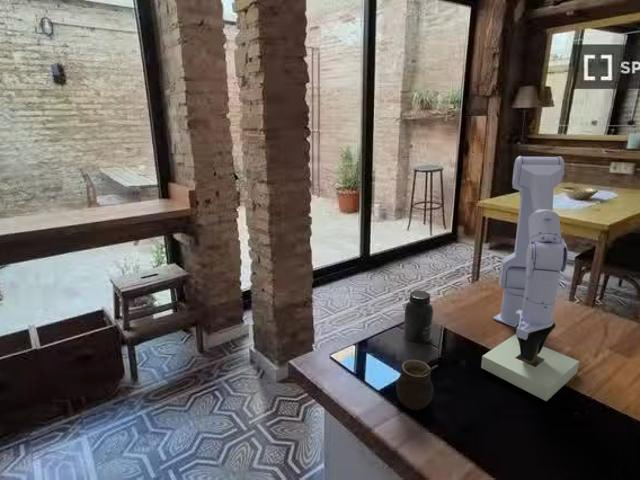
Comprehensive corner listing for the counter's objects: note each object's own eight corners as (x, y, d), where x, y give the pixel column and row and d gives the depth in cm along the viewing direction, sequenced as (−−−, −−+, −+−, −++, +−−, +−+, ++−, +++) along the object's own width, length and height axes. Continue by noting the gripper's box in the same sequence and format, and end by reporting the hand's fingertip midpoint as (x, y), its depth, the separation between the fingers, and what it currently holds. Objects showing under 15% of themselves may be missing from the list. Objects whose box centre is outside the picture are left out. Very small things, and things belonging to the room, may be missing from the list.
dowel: (523, 362, 89) (528, 334, 87) (537, 368, 87) (542, 340, 85) (517, 367, 88) (521, 339, 86) (531, 373, 85) (535, 345, 83)
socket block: (513, 345, 97) (514, 334, 96) (576, 373, 86) (579, 361, 85) (480, 367, 89) (482, 355, 88) (546, 401, 78) (548, 388, 77)
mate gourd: (398, 386, 83) (401, 344, 80) (436, 395, 80) (440, 352, 77) (391, 408, 77) (393, 364, 74) (431, 419, 74) (435, 374, 71)
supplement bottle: (432, 346, 97) (435, 301, 93) (403, 343, 98) (405, 299, 95) (430, 331, 104) (433, 289, 100) (403, 329, 105) (405, 287, 101)
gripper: (533, 282, 89) (525, 335, 94) (504, 303, 80) (496, 361, 84) (568, 292, 84) (558, 347, 89) (541, 315, 75) (531, 376, 79)
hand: (530, 355), depth 86 cm, fingers open, 3 cm apart
